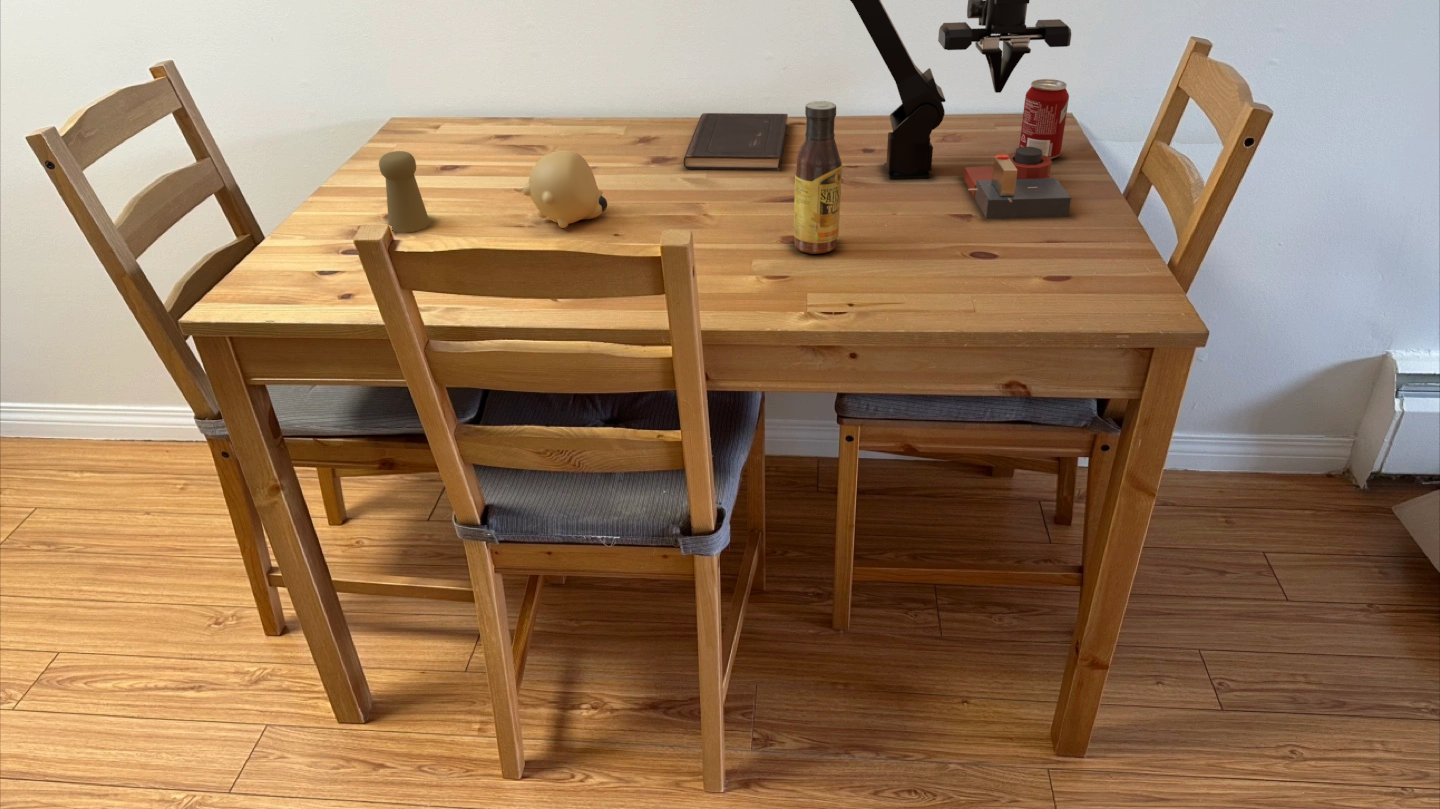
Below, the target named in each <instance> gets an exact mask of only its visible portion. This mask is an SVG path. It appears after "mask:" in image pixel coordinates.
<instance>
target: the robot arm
mask: <svg viewBox="0 0 1440 809" xmlns="http://www.w3.org/2000/svg"><path fill="white" fill-rule="evenodd" d="M849 1H850V3H852V5H853V7H854V9H855V11H856V12H857V14H858V17H859V18H860V20H861V21H862V23H863V25H864V27H865V29H866V30H867V33H868V34H869V36H870V38H871V40H872V41H873V43H874V46H875V47H876V49H877V51H878V52H879V54H880V56H881V58H882V60H883V63H885V65H886V67H887V70H888V71H889V73H890V74H891V76H892V78H893V80H894V82H895V85H896V88H897V91H898V95H899V97H900V101H901V104H900V105H899V106H898V107H897V108H896V109H894V110H893V111H892V112H891V113H889V119H890V124H891V129H892V131H890V132H888V133H887V146H886V147H887V148H886V161H885V163H883V165H884V166H883V167H884V169H885V172H886V175H887V177H888V179H889V180H913V179H914V180H915V179H919V180H920V179H930V177H931V176H930V175H931V174H930V171H932V166H933V165H932V164H933V153H934V146H933V144H932V142H931V134H932V132H933V130H935V129H937V128H938V127H939V126H940V125H941V124H942V122H943V120H944V117H945V112H946V111H945V107H944V105H943V103H946V98H945V95H944V91H943V89H942V87H941V86H940V85H938V84H937V83H936V80H935V78H934V75H933V72H932V69H931V68H930V67H928V68H927V69H926V70H925V71H924V72H923V71H921V69H919V67H918V66H917V65H916V64H915V63H914V60H913V59H912V57H911V55H910V53H909V51H908V49H907V47H906V46H905V44H904V42H903V39H902V38H901V36H900V34H899V32H898V31H897V28H896V27H895V25H894V23H893V22H892V19H891V17H890V15H889V13H888V12H887V10H886V8H885V6H884V5H883V3H882V0H849ZM1028 4H1030V0H967V7H966V17H967V19H978V26H982V27H983V28H972V27H971V26H970V25H969V24H968V23H967V22H966V21H963V22H960V21H959V22H943V23H942V24H941V25H940V27H939V29H938V38H937V41H938V43H939V44H940V45H941V47H942V48H943V49H944V51H945V50H946V51H965V50H967V49H968V48H969V47H970V46H971V45H972V43H974V45H975V48H976V49H977V50H978V51H979V52H980V54H982V55H984V56H985V58H986V61H987V65H988V69H989V73H990V78H991V82H992V88H993V89H994V93H996V94H997V93H999V94H1001V93H1002V91H1003V90H1004V88H1005V86H1006V84H1007V82H1008V80H1009V79H1010V77H1011V75H1012V73H1013V72H1014V69H1015V68H1016V67H1017V65H1018V64H1019V62H1020V61H1021V60H1022V58H1023V57H1024V55H1026V54H1031V53H1032V52H1031V50H1032V49H1031V48H1030V47H1029V44H1030V43H1031V41H1044V43H1045V44H1046V45H1047V46H1048V47H1049V48H1062V47H1063V48H1064V47H1066V48H1067V47H1070V46H1071V41H1072V29H1071V27H1069V25H1068V24H1066V23H1065V22H1064V21H1063V20H1062V19H1059V18H1057V19H1037V21H1036V23H1035V26H1027V24H1026V19H1027V11H1028ZM1000 42H1002V48H1000Z"/></svg>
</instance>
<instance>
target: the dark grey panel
mask: <svg viewBox="0 0 1440 809" xmlns="http://www.w3.org/2000/svg"><path fill="white" fill-rule="evenodd" d="M972 190H976V191H975V197H974V200H975V202H976V204H977V205H978V207H979V209H980V211H981V212H982V214H983V216H984V218H985V219H986V220H987V219H988V220H989V219H990V220H991V219H1024V218H1025V219H1026V218H1027V219H1028V218H1030V219H1031V218H1058V217H1059V218H1062V217H1063V218H1064V217H1069V213H1070V206H1071V203H1072V202H1071V201H1072V196H1070V194H1069V192H1067V191H1066V189H1065V188H1064V187H1063V185H1062V184H1061V183H1060V182H1059V180H1058V178H1057V177H1050V178H1042V179H1016V186H1015V193H1014V196H1000V194H999V193H998V191H997V190H996V188H995V186H994V185H993V183H992V180H977V182H976V189H969V188H967V191H968V192H969V191H970V192H971V191H972Z"/></svg>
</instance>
